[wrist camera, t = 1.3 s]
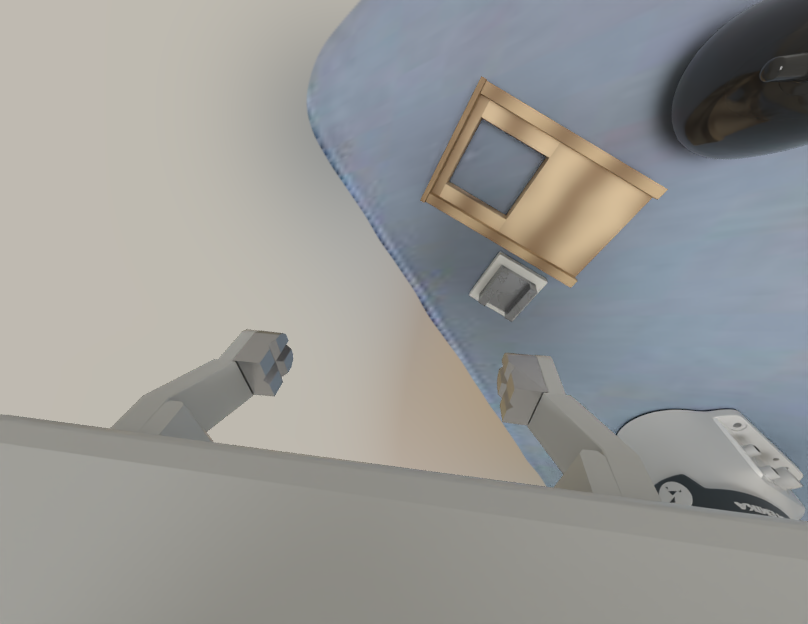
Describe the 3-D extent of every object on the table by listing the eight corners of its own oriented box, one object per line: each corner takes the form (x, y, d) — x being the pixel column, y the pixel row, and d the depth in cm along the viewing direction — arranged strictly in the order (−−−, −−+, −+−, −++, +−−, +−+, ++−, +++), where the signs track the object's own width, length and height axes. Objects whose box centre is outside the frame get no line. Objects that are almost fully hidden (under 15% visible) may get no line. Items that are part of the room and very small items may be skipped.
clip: (535, 284, 37) (537, 292, 35) (510, 312, 40) (511, 321, 38) (501, 264, 37) (501, 271, 35) (479, 293, 40) (478, 302, 38)
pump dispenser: (670, 27, 25) (849, -94, 12) (841, -6, 22) (1322, -213, 9) (636, 162, 29) (737, 177, 17) (772, 150, 26) (1019, 159, 14)
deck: (650, 184, 30) (672, 190, 26) (565, 275, 37) (572, 290, 33) (483, 84, 30) (481, 76, 26) (428, 194, 36) (420, 200, 33)
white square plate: (546, 278, 37) (547, 282, 36) (512, 316, 41) (512, 321, 40) (499, 250, 37) (499, 254, 36) (469, 291, 41) (469, 295, 40)
